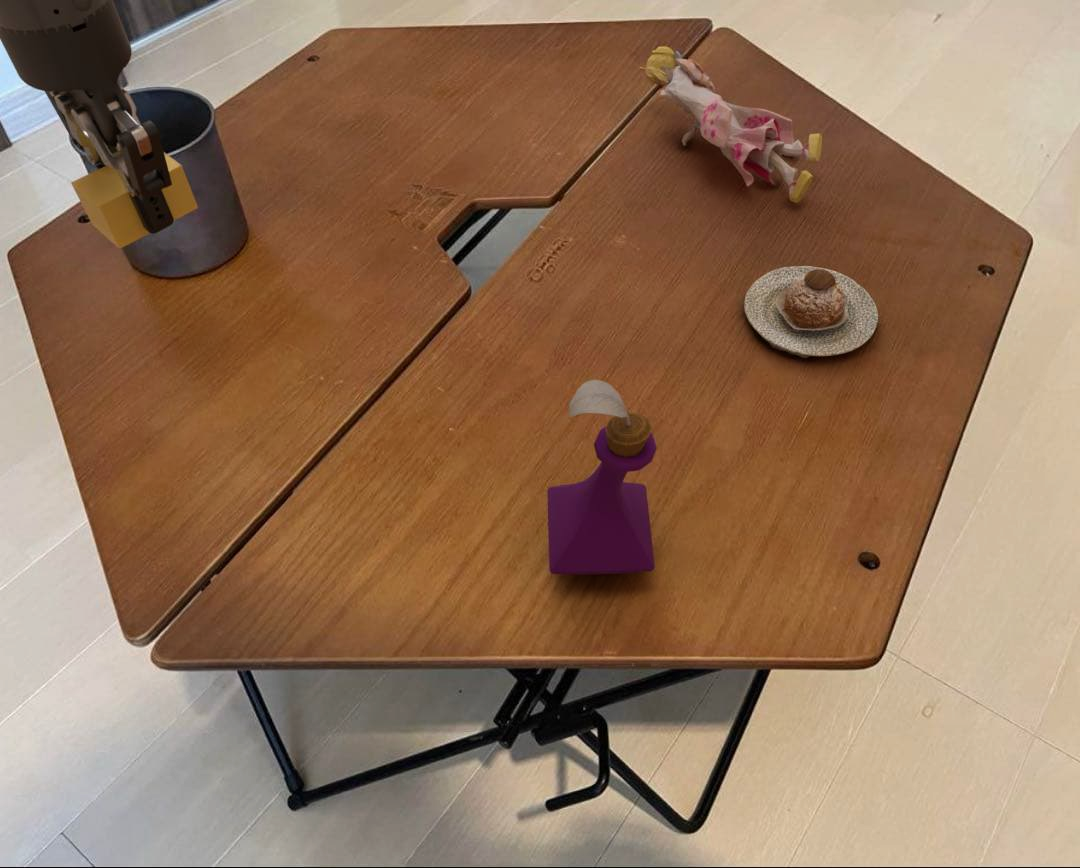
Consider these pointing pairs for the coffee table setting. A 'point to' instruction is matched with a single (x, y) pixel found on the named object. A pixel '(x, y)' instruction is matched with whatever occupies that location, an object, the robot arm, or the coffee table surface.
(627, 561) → the perfume bottle
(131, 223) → the block
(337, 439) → the coffee table surface
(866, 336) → the pastry
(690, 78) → the figurine
